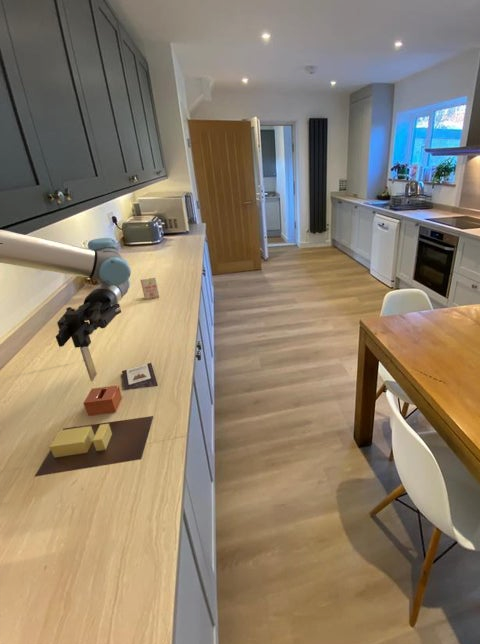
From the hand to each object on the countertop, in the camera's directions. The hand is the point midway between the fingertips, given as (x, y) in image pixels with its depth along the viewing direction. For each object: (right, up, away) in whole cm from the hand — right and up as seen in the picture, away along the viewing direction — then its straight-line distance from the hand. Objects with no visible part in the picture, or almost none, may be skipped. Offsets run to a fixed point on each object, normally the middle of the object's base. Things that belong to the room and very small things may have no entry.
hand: (68, 340), depth 74 cm
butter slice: (+5, -26, +6) cm, 27 cm away
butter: (-1, -26, +4) cm, 27 cm away
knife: (-1, -11, +11) cm, 15 cm away
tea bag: (-23, +12, +91) cm, 95 cm away
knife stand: (-2, -22, +18) cm, 28 cm away
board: (+4, -27, +6) cm, 28 cm away
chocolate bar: (+3, -17, +28) cm, 33 cm away
